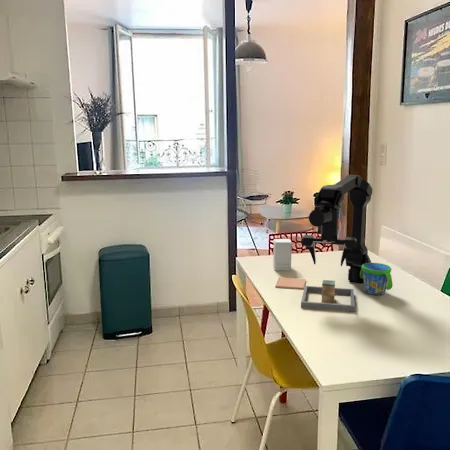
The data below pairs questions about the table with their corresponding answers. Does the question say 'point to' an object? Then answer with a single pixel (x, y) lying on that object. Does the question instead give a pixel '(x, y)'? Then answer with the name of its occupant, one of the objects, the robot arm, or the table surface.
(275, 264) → the supplement box
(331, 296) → the oak block
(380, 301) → the table surface
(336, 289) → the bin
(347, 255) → the robot arm
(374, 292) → the snack cup
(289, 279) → the tile
